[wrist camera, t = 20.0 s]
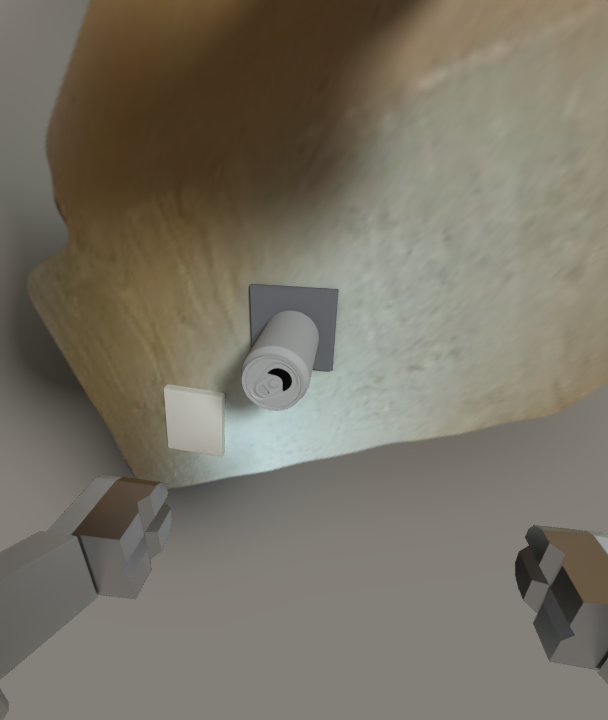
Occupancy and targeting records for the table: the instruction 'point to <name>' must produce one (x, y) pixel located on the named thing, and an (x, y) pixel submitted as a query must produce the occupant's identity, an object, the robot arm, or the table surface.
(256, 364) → the beverage can
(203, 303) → the table surface
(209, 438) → the tile
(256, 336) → the mat
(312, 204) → the table surface
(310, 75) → the table surface
